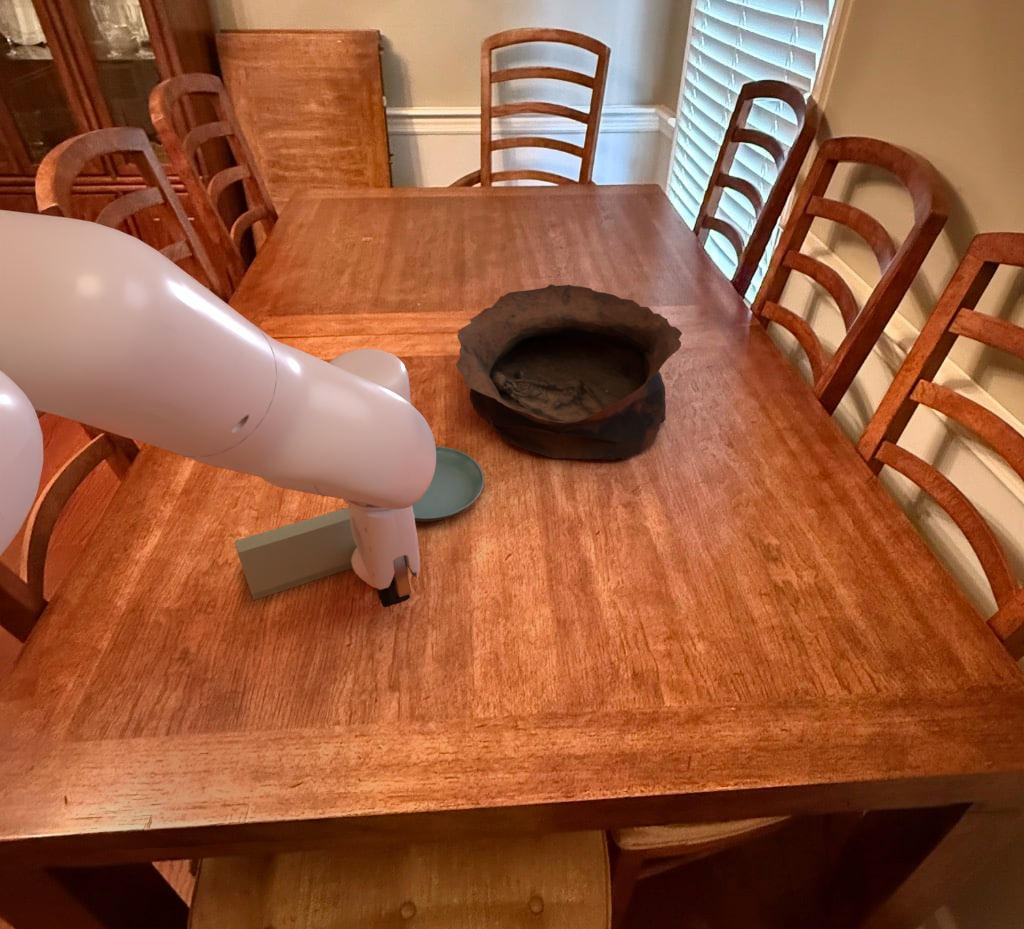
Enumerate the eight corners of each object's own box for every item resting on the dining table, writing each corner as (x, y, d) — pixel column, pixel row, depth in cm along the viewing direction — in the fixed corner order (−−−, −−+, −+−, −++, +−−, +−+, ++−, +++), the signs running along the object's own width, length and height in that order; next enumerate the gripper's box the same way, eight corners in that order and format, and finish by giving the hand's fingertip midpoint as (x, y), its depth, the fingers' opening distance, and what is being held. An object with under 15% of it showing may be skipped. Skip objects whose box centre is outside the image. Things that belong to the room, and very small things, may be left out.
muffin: (382, 551, 86) (376, 510, 82) (417, 575, 83) (413, 534, 79) (344, 581, 82) (335, 540, 78) (379, 607, 79) (373, 566, 75)
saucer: (396, 453, 101) (394, 439, 99) (494, 468, 99) (494, 453, 97) (359, 522, 90) (356, 508, 88) (469, 540, 88) (469, 525, 86)
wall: (253, 600, 80) (237, 552, 75) (245, 571, 83) (229, 523, 78) (402, 551, 86) (396, 504, 81) (389, 526, 90) (383, 479, 85)
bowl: (663, 500, 97) (675, 418, 86) (436, 473, 103) (422, 393, 93) (676, 358, 121) (686, 280, 110) (491, 343, 127) (484, 268, 117)
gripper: (320, 441, 71) (344, 564, 82) (361, 536, 60) (382, 661, 72) (390, 423, 73) (404, 545, 85) (442, 511, 63) (450, 636, 74)
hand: (394, 598), depth 78 cm, fingers closed
